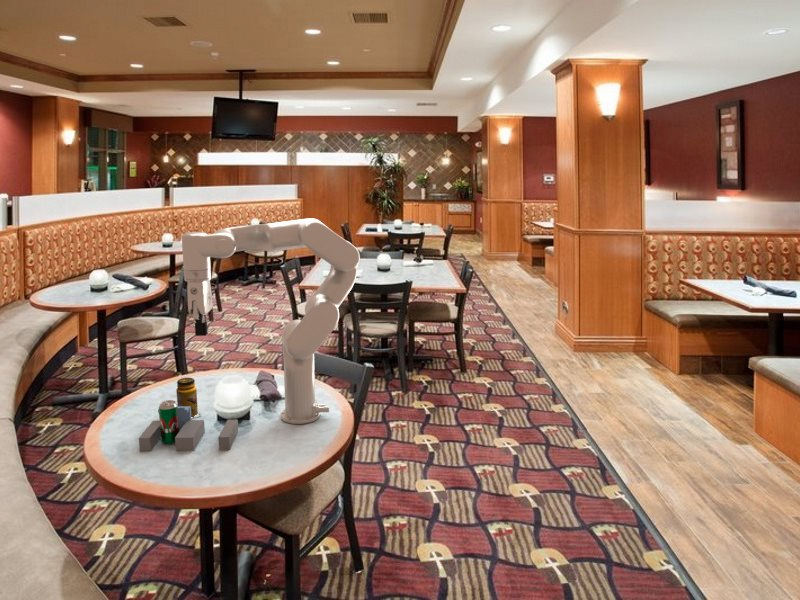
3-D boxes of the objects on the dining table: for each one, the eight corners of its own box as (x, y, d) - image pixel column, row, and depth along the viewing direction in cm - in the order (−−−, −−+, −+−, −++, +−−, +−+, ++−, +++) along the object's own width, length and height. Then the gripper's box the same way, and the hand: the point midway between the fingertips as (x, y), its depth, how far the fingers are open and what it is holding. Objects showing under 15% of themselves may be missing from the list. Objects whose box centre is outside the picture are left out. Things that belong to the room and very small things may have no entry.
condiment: (201, 416, 198) (199, 381, 196) (174, 422, 194) (171, 386, 191) (195, 409, 204) (193, 374, 202) (168, 414, 200) (166, 379, 197)
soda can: (181, 437, 183) (178, 399, 181) (178, 444, 179) (175, 405, 176) (163, 438, 183) (160, 400, 180) (159, 445, 178) (156, 406, 175)
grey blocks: (239, 430, 188) (237, 405, 186) (229, 450, 176) (228, 423, 174) (155, 431, 187) (153, 406, 185) (139, 451, 174) (137, 424, 173)
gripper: (204, 279, 174) (208, 342, 178) (216, 270, 189) (220, 328, 193) (176, 279, 174) (181, 342, 178) (191, 270, 188) (195, 328, 192)
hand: (201, 334), depth 185 cm, fingers closed
